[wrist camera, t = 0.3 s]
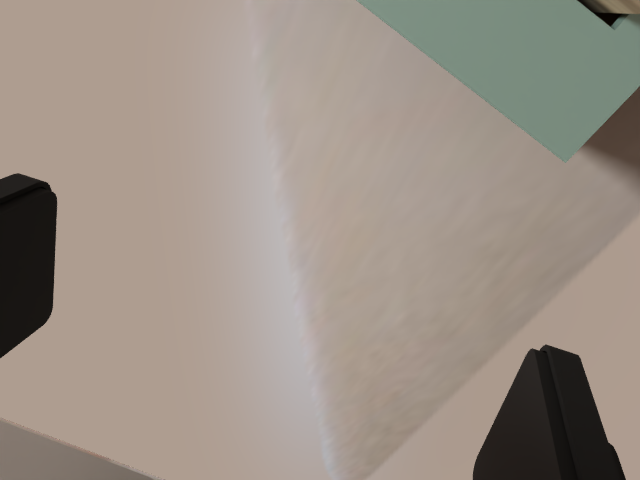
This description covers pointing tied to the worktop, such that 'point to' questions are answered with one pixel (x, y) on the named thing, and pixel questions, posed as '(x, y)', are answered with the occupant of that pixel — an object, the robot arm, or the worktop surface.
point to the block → (612, 6)
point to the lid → (529, 59)
